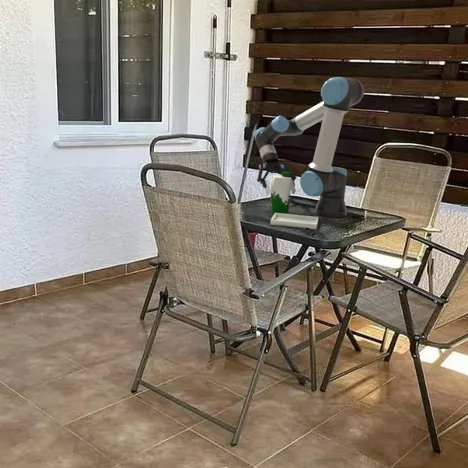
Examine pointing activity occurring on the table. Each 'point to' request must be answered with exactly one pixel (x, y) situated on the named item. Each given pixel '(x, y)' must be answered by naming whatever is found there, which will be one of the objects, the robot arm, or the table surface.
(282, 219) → the tray
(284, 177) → the soya milk
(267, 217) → the table surface
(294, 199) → the table surface
